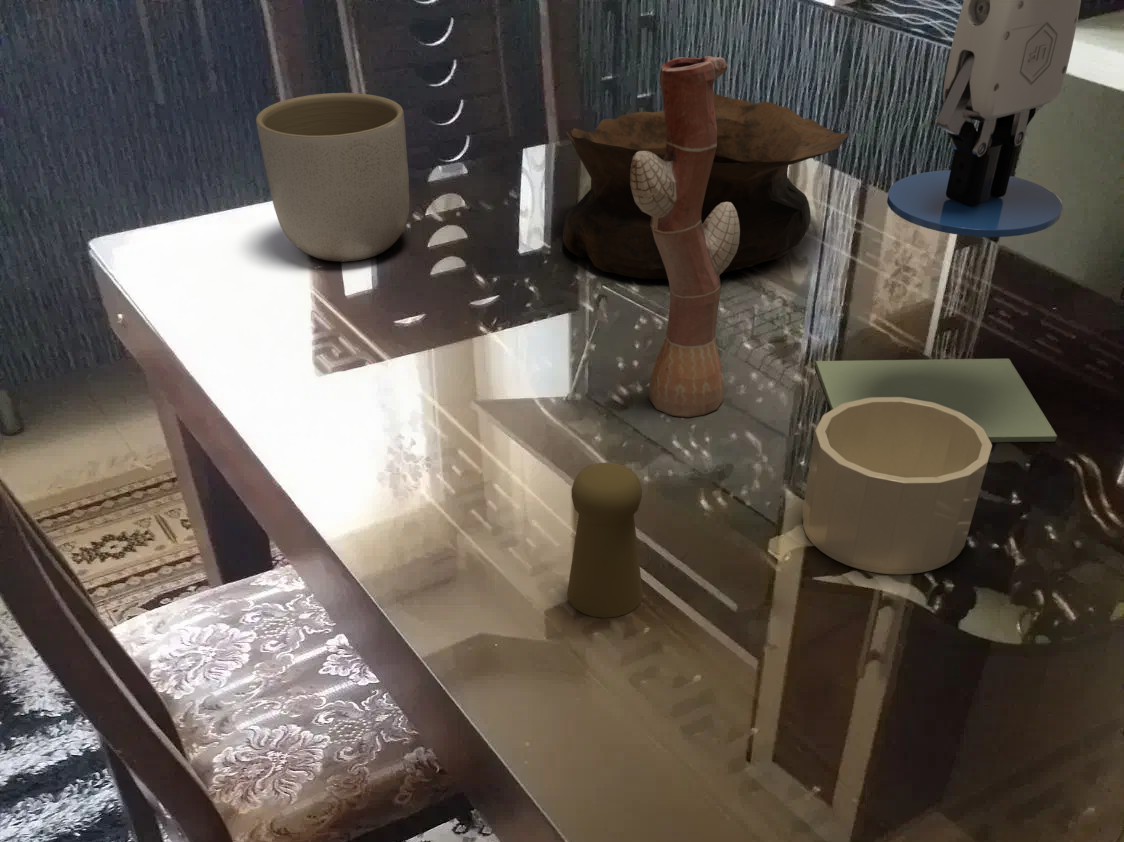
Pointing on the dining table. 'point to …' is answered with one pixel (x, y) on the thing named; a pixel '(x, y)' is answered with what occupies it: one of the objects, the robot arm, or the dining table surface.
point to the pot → (894, 484)
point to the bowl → (736, 176)
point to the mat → (946, 391)
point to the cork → (605, 542)
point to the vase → (687, 237)
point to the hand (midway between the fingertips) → (975, 195)
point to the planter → (337, 172)
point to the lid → (991, 217)
